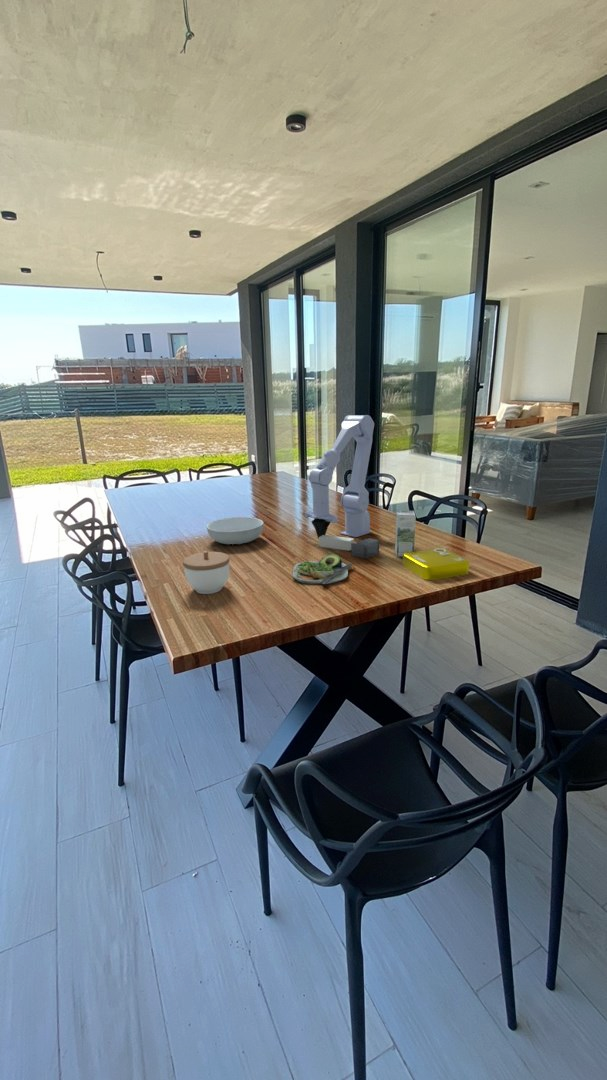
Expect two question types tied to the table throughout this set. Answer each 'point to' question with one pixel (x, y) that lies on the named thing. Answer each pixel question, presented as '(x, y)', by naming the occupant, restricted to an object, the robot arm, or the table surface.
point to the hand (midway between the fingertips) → (321, 539)
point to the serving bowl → (235, 530)
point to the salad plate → (322, 570)
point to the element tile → (435, 564)
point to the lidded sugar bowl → (207, 571)
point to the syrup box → (404, 532)
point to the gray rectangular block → (335, 542)
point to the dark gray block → (365, 548)
